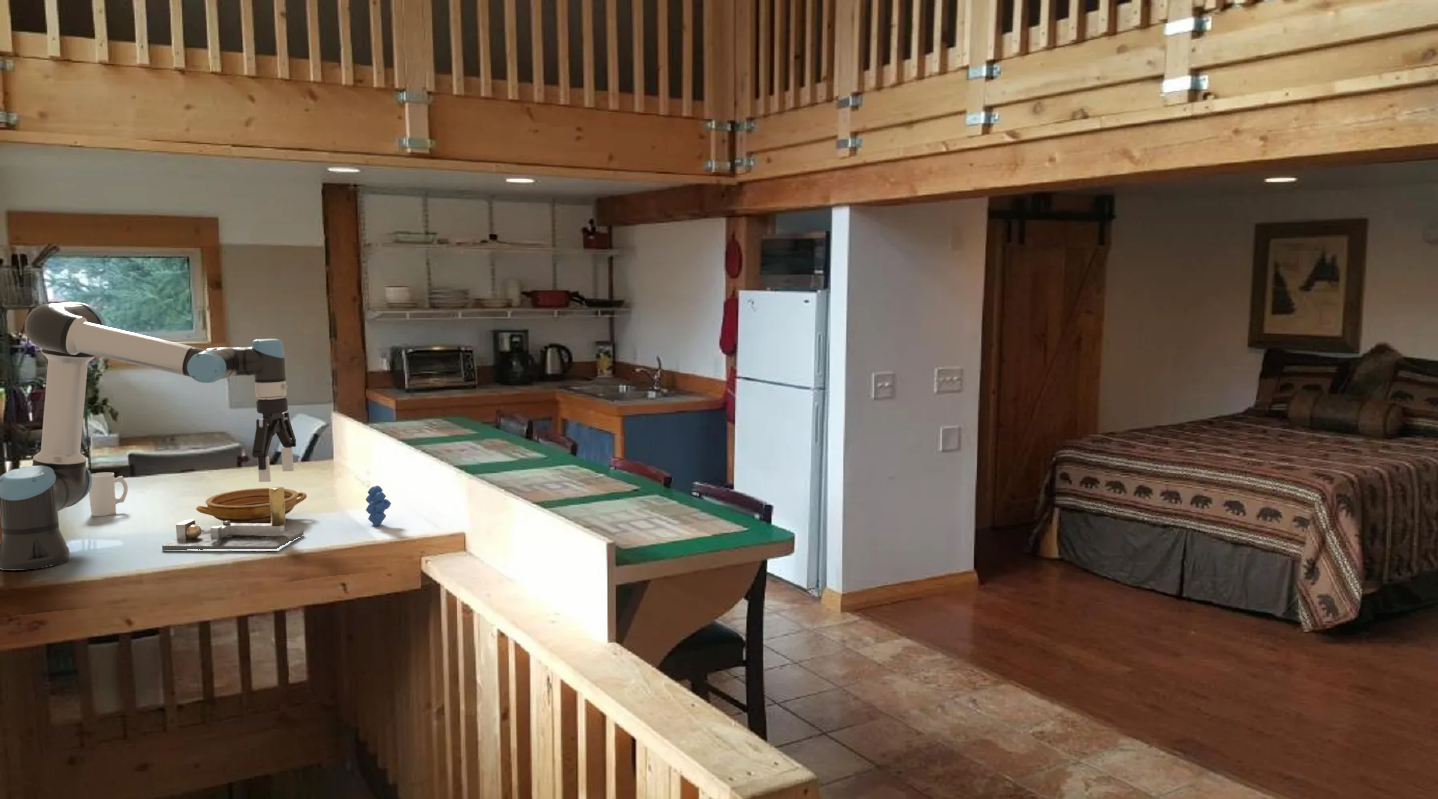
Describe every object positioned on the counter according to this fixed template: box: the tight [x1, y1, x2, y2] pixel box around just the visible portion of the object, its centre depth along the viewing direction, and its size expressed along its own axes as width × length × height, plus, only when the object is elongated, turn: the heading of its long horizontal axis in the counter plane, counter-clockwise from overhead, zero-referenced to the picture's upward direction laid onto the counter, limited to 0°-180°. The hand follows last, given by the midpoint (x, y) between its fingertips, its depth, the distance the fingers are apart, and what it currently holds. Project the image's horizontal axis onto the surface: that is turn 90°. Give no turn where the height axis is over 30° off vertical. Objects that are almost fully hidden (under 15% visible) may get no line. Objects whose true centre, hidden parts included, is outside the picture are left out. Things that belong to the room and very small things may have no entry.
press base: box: [161, 519, 305, 551], centre depth 264 cm, size 16×30×6 cm, turn 89°
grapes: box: [365, 485, 392, 526], centre depth 283 cm, size 12×7×12 cm, turn 38°
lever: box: [209, 486, 287, 540], centre depth 263 cm, size 8×17×12 cm, turn 89°
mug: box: [88, 472, 129, 517], centre depth 296 cm, size 10×7×12 cm, turn 129°
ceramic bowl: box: [195, 487, 308, 523], centre depth 285 cm, size 30×24×8 cm
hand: (276, 476), depth 264 cm, fingers open, 13 cm apart
